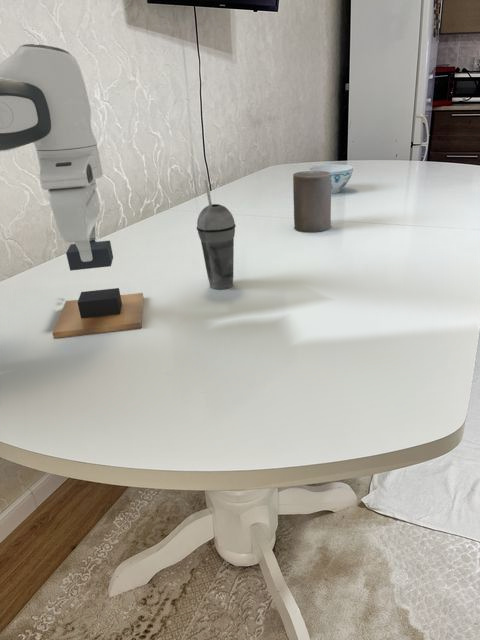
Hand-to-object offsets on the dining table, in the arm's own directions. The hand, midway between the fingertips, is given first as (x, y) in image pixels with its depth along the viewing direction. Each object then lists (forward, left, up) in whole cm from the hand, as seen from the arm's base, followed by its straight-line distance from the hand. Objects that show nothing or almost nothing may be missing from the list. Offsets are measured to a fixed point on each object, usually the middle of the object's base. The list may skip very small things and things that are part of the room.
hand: (90, 254), depth 87 cm
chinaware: (+68, +89, -11) cm, 113 cm away
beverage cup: (+22, +9, -11) cm, 26 cm away
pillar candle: (+50, +45, -11) cm, 68 cm away
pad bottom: (0, 0, -10) cm, 10 cm away
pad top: (0, 0, -2) cm, 2 cm away
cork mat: (0, 0, -11) cm, 11 cm away
